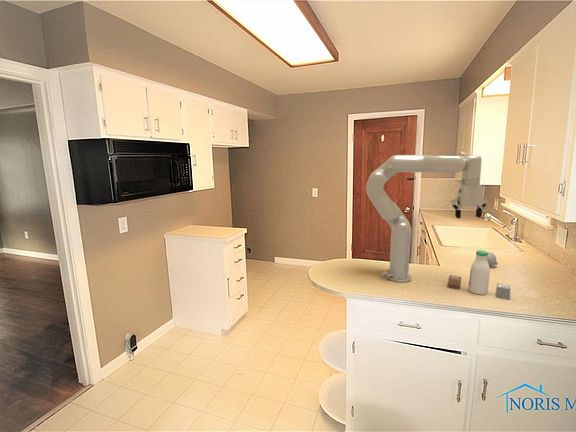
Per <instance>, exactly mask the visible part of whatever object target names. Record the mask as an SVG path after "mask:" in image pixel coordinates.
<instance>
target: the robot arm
mask: <svg viewBox="0 0 576 432" xmlns="http://www.w3.org/2000/svg"><path fill="white" fill-rule="evenodd" d="M482 159H483V158H482V157H481V156H480V155H466V156H459V155H427V154H395V155H392V156H390V157H389V158H388V159H387V160H386V161H384V163H382V164H381V165H380V166H378V167H377V168H376V169H375V170H373V171H372V173H371V174H370V175H369V177H368V179H367V181H366V185H365V191H366V195H367V196H368V199H369V200H370V202H371V203H372V205H373V206H374V207H375V209H376V211H377V212H378V213H379V215H380V216H381V218H382V219H383V220H384V221H385V222H386V223H387V224H388V225H389V227H390V229H391V234H390V251H389V253H390V254H389V268H388V269H387V271H382V272H381V275H382V276H383V277H384V276H385V277H386V279H388V280H389V281H393V282H396V283H406V282H407V283H408V282H410V281H411V280H412V276H411V275H410V274H409V271H410V270H409V269H410V268H409V266H410V253H411V252H410V249H411V239H412V227H411V223H410V222H409V220H408V219H407V217H406V216H405V215H404V213H403V212H402V210H401V209H400V207H399V206H398V205H397V203H395V201H392V199H391V198H390V196H389V195H388V193H386V191H385V189H384V186H385V184H386V183H387V181H388V180H390V179H391V178H393V176H395V175H396V174H397V173H455V174H456V173H457V174H458V173H460V172H461V179H459V181H458V183H459V184H460V185H459V187H458V191H457V197H455V198H453V199H452V200H450V201H449V202H450V204H451V206H452V207H453V209H454V210H455V212H454V213H455V214H454V215H455V218H456V219H461V218H462V216H461V214H462V210H461V209H462V208H463V207H476V209H475V217H476V218H479V219H481V218H482V214H483V210H484V208H485V207H486V206H487V205H488V203H489V199H487V198H485V197H484V190H483V185H482V184H481V175H482V162H483V161H482Z"/></svg>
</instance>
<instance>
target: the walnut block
mask: <svg viewBox="0 0 576 432" xmlns="http://www.w3.org/2000/svg"><path fill="white" fill-rule="evenodd" d="M461 282H462V276H457V275H452V274H449V276H448V280H447V289H453V290H458V291H460V289H461Z"/></svg>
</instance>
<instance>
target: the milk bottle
mask: <svg viewBox="0 0 576 432" xmlns="http://www.w3.org/2000/svg"><path fill="white" fill-rule="evenodd" d="M488 252H489V251H486V250H482V249H479V250H476V252H475V256H476V257H475V259H474V260H473V262H472V263H471V266H470V272H469V278H468V279H469V282H468V291H469V292H470V293H472V294H475V295H483V296H485V295H487V294H488V291H489V281H490V276H491V275H490V273H491V271H490V270H491V268H490V267H489V264H488V262H487V257H488Z"/></svg>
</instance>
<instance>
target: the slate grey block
mask: <svg viewBox="0 0 576 432" xmlns="http://www.w3.org/2000/svg"><path fill="white" fill-rule="evenodd" d="M510 297H511V285H508V284H503V283H498V282H497V283H496V289H495V298H499V299H503V300H506V301H507V300H510Z"/></svg>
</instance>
